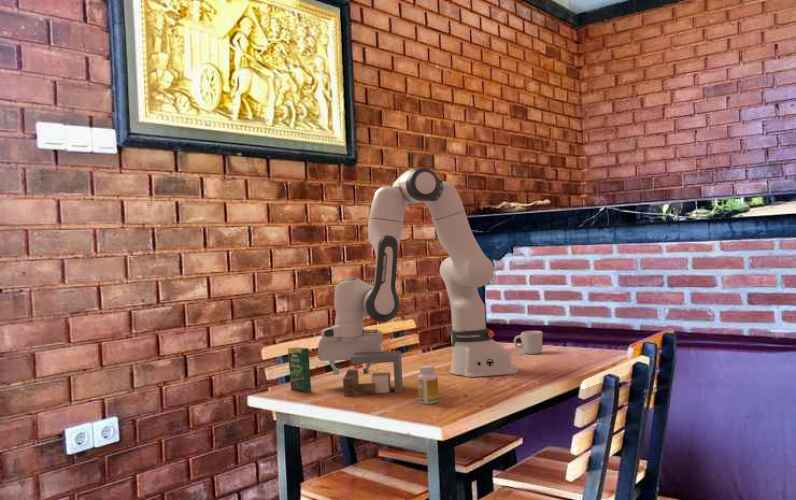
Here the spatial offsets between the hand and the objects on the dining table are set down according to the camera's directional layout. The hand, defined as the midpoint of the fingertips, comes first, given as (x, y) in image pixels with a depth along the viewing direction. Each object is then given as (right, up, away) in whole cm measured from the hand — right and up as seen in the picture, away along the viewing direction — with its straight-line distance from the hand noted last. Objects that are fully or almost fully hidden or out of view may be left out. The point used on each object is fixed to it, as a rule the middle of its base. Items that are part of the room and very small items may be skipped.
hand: (351, 374), depth 202 cm
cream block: (+10, -3, -9) cm, 14 cm away
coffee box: (-16, -5, -2) cm, 16 cm away
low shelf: (+9, -3, -9) cm, 13 cm away
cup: (+64, 0, +42) cm, 76 cm away
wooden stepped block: (+4, -4, -6) cm, 8 cm away
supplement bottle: (+23, -3, -27) cm, 35 cm away
